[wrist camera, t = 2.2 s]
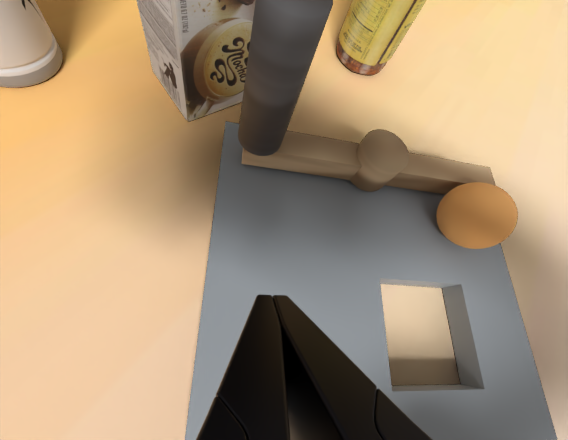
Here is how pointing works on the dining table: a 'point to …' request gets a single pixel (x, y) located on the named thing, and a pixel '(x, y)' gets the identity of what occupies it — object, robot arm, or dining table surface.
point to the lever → (314, 149)
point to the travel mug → (26, 45)
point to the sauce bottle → (374, 32)
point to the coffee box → (199, 50)
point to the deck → (365, 293)
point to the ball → (477, 215)
